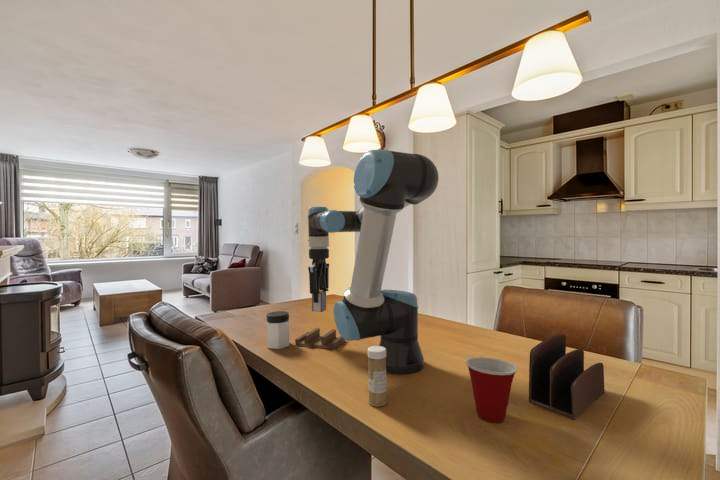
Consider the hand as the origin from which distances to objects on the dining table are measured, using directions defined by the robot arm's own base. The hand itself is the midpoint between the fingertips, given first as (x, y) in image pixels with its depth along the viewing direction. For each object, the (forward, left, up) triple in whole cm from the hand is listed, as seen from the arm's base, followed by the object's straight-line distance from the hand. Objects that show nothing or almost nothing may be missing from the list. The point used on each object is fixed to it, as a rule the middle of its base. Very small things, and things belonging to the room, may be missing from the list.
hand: (319, 309), depth 128 cm
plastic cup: (-59, +35, -13) cm, 70 cm away
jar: (+14, +7, -13) cm, 20 cm away
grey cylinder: (0, 0, 0) cm, 0 cm away
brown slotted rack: (0, 0, -13) cm, 13 cm away
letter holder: (-77, +21, -13) cm, 81 cm away
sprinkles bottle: (-33, +37, -13) cm, 51 cm away
